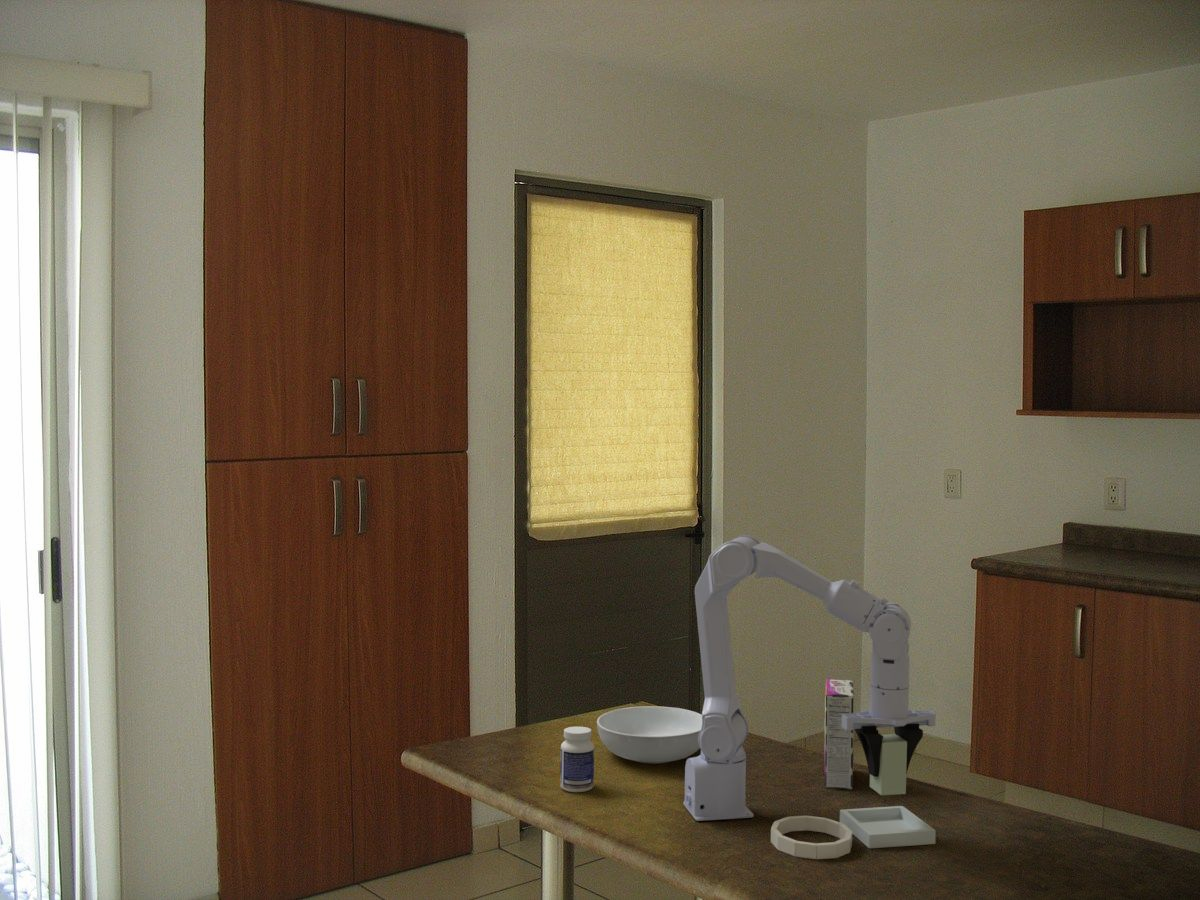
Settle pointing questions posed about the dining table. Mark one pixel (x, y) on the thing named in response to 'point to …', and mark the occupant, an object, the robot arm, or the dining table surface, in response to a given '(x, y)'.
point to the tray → (887, 827)
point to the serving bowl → (650, 733)
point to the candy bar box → (838, 734)
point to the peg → (891, 766)
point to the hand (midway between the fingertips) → (887, 773)
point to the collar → (809, 848)
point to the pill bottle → (577, 760)
